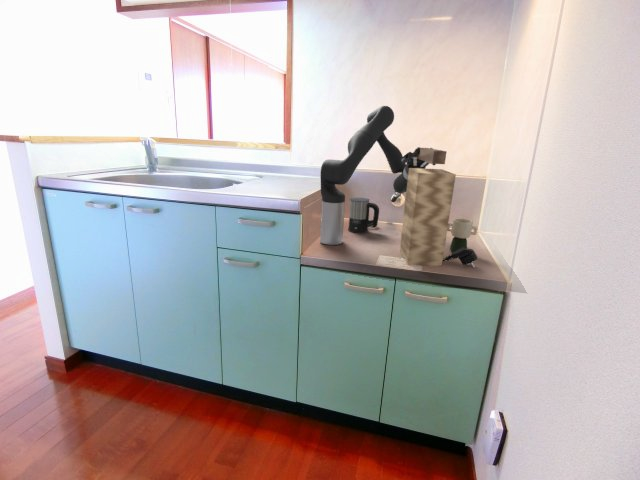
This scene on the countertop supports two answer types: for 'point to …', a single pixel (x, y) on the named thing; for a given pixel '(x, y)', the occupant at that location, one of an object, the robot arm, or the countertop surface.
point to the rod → (432, 155)
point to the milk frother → (361, 215)
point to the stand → (426, 216)
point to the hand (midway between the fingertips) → (425, 149)
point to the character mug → (460, 233)
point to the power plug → (463, 256)
